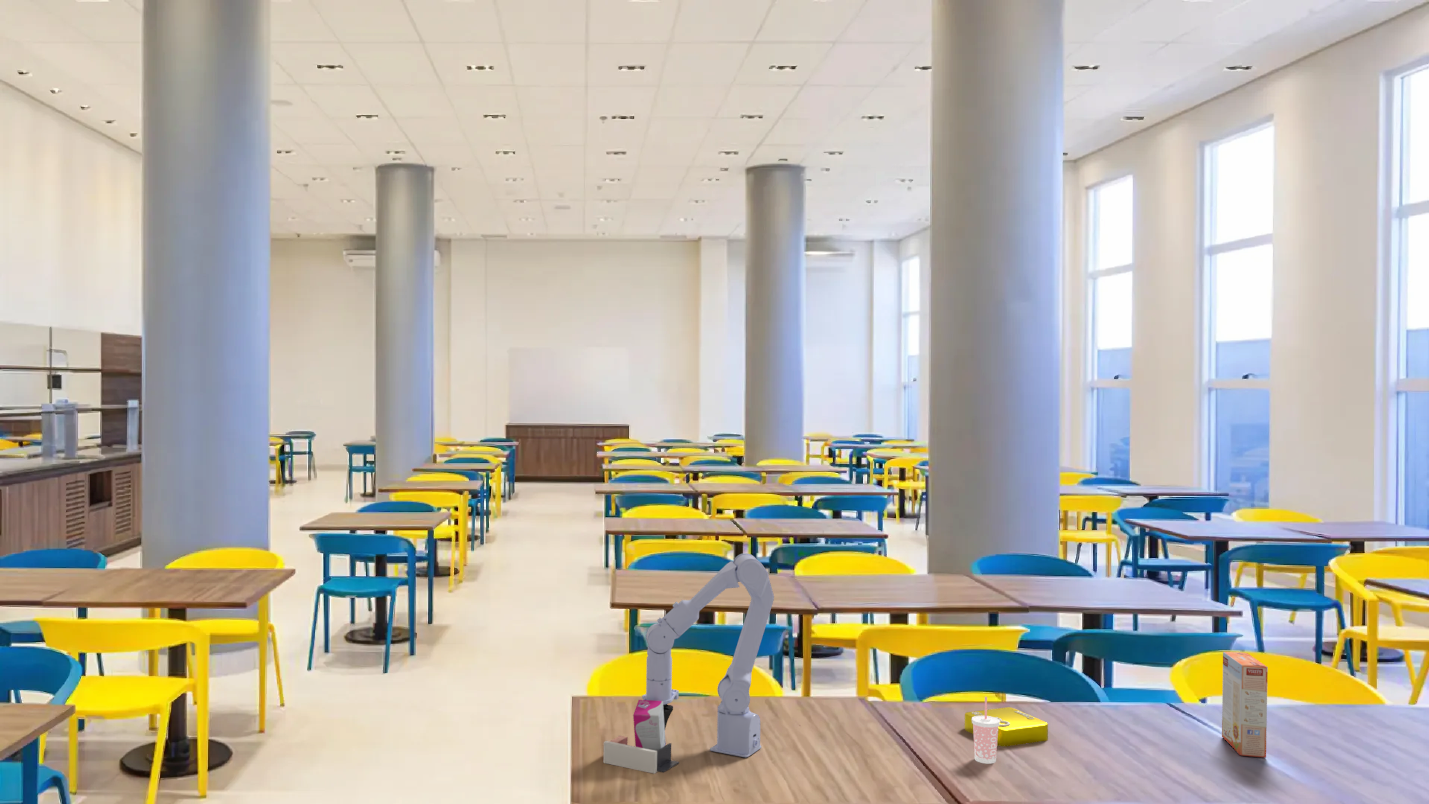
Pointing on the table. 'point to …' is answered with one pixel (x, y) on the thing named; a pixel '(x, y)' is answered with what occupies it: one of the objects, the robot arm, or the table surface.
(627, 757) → the shelf wall
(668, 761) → the bookend
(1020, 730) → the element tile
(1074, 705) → the table surface
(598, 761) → the table surface
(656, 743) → the supplement box
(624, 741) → the pink rectangular block
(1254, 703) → the cracker box
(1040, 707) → the table surface
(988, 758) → the beverage cup
